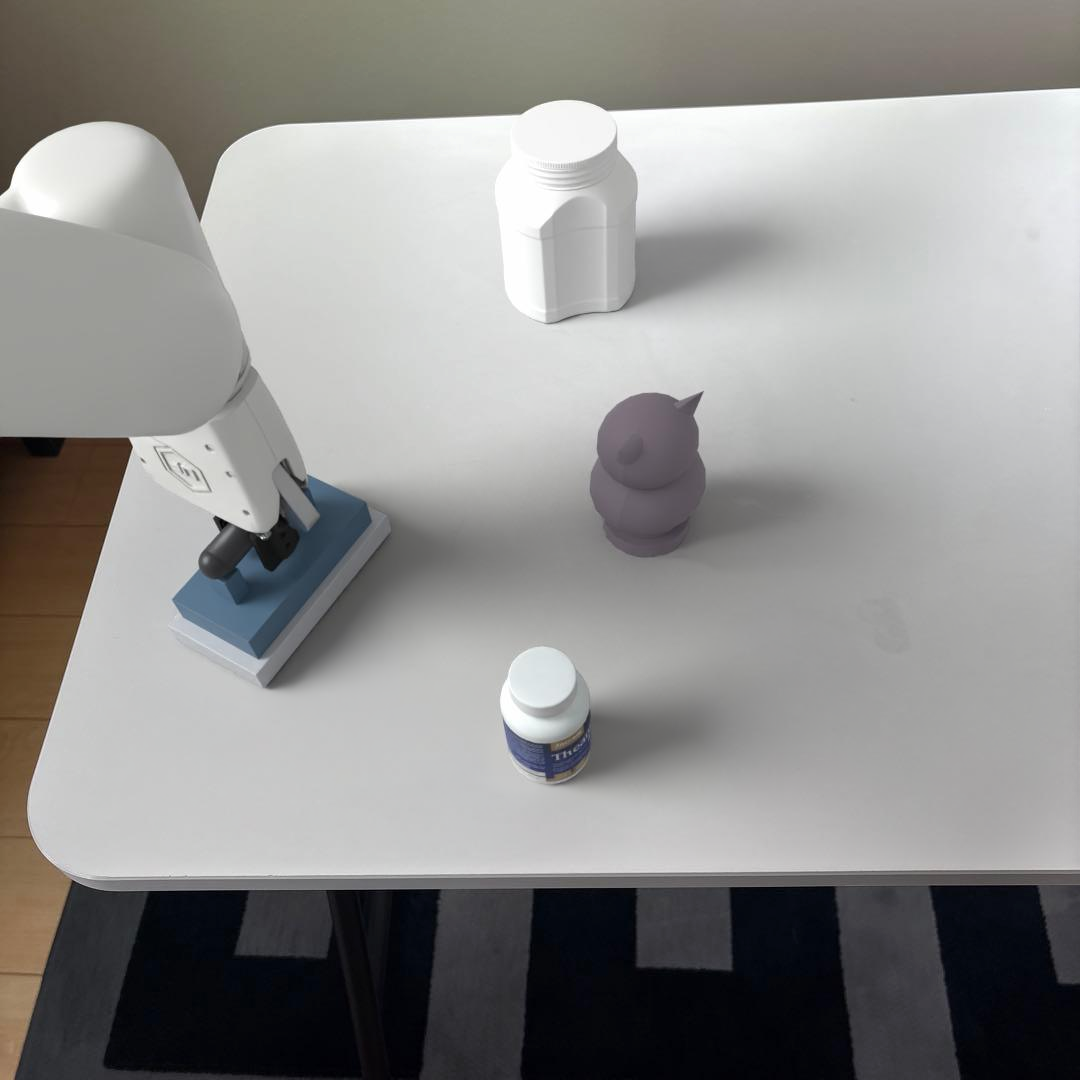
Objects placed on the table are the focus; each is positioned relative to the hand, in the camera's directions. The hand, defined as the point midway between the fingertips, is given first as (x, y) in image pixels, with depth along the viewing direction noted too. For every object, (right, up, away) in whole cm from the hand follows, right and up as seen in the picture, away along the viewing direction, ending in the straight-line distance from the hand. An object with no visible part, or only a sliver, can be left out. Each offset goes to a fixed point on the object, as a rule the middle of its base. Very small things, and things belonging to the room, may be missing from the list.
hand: (265, 544), depth 72 cm
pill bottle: (+19, -13, -4) cm, 24 cm away
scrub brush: (0, -3, +4) cm, 5 cm away
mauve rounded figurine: (+27, +2, +6) cm, 27 cm away
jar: (+21, +23, +22) cm, 38 cm away
